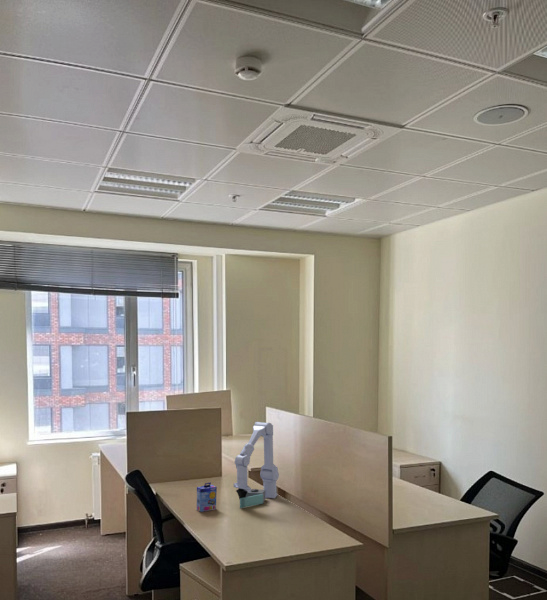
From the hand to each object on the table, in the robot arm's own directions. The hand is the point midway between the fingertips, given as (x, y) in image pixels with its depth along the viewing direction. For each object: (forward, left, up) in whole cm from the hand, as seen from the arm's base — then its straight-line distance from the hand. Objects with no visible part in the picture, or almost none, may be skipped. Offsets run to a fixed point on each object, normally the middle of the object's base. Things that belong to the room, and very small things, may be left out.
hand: (242, 502), depth 321 cm
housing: (-13, +4, -2) cm, 14 cm away
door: (-3, +5, -2) cm, 6 cm away
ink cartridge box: (+8, -18, -2) cm, 20 cm away
